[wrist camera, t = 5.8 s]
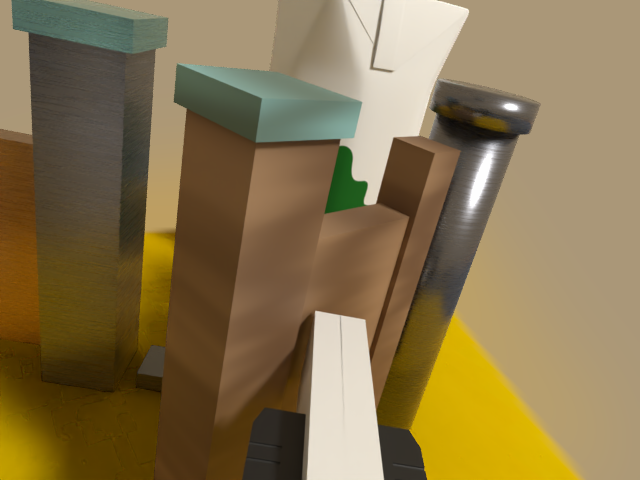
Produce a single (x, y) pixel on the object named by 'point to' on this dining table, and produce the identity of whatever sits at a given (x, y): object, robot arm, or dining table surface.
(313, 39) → the milk carton
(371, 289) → the gate
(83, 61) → the gate posts
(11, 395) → the dining table surface
